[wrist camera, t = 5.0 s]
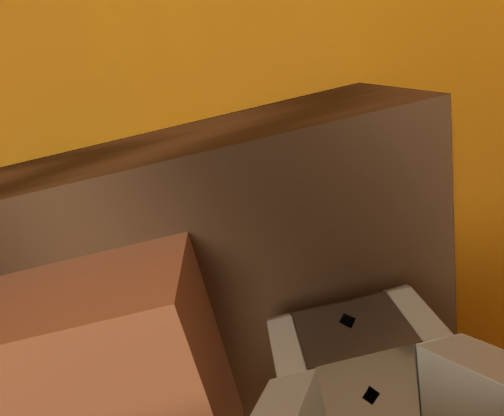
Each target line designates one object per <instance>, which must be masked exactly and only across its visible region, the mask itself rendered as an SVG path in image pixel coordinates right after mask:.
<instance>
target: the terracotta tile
mask: <svg viewBox="0 0 504 416" xmlns="http://www.w3.org/2000/svg"><path fill="white" fill-rule="evenodd" d="M0 416H244V415H243V407H242V403H241V400H240V397H239V394H238V391H237V387H236V384H235V381H234V378H233V375H232V371H231V368H230V365H229V362H228V359H227V355H226V352H225V349H224V346H223V343H222V339H221V336H220V333H219V330H218V326H217V323H216V320H215V317H214V314H213V310H212V307H211V304H210V301H209V298H208V294H207V291H206V288H205V285H204V282H203V278H202V275H201V272H200V269H199V265H198V262H197V259H196V256H195V253H194V249H193V246H192V243H191V240H190V237H189V233H188V232H184V233H179V234H175V235H171V236H167V237H162V238H158V239H154V240H150V241H145V242H141V243H137V244H133V245H128V246H124V247H120V248H116V249H111V250H107V251H103V252H99V253H94V254H90V255H86V256H82V257H77V258H73V259H69V260H65V261H61V262H56V263H52V264H48V265H44V266H39V267H35V268H31V269H27V270H22V271H18V272H14V273H10V274H5V275H1V276H0Z"/></svg>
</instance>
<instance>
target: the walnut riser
mask: <svg viewBox="0 0 504 416" xmlns="http://www.w3.org/2000/svg"><path fill="white" fill-rule="evenodd" d="M184 232H188V233H189V237H190V240H191V243H192V246H193V249H194V253H195V256H196V259H197V262H198V265H199V269H200V272H201V275H202V278H203V282H204V285H205V288H206V291H207V294H208V298H209V301H210V304H211V307H212V310H213V314H214V317H215V320H216V323H217V326H218V330H219V333H220V336H221V339H222V343H223V346H224V349H225V352H226V355H227V359H228V362H229V365H230V368H231V371H232V375H233V378H234V381H235V384H236V387H237V391H238V394H239V397H240V400H241V403H242V407H243V415H244V416H250V414H251V413H252V411H253V409H254V407H255V405H256V403H257V402H258V400H259V398H260V396H261V394H262V392H263V390H264V389H265V387H266V385H267V383H268V381H269V380H270V379H273V378H277V376H276V370H275V365H274V360H273V354H272V349H271V343H270V338H269V333H268V327H267V318H271V317H275V316H279V315H283V314H288V313H290V314H291V312H296V311H301V310H305V309H310V308H314V307H319V306H323V305H328V304H333V303H339V302H343V301H347V300H351V299H355V298H359V297H363V296H367V295H371V294H375V293H379V292H383V291H384V290H387V289H391V288H395V287H398V286H402V285H406V284H407V285H409V286H411V287H412V288H413V289H414V290H415V291H416V293H417V294H418V295H419V296H420V297H421V298H422V299H423V300H424V302H425V303H426V304H427V305H428V306H429V307H430V308H431V309H432V310H433V312H434V313H435V314H436V315H437V316H438V317H439V318H440V319H441V321H442V322H443V323H444V324H445V325H446V326H447V327H448V328H449V330H450V331H451V332H452V333H453V334H454V335H455V334H457V323H456V283H455V244H454V204H453V165H452V125H451V94H450V93H441V92H433V91H424V90H416V89H408V88H399V87H391V86H382V85H374V84H365V83H356V84H352V85H347V86H343V87H339V88H335V89H330V90H326V91H322V92H318V93H314V94H309V95H305V96H301V97H297V98H292V99H288V100H284V101H280V102H275V103H271V104H267V105H263V106H259V107H254V108H250V109H246V110H242V111H237V112H233V113H229V114H225V115H220V116H216V117H212V118H208V119H204V120H199V121H195V122H191V123H187V124H182V125H178V126H174V127H170V128H165V129H161V130H157V131H153V132H149V133H144V134H140V135H136V136H132V137H127V138H123V139H119V140H115V141H110V142H106V143H102V144H98V145H94V146H89V147H85V148H81V149H77V150H72V151H68V152H64V153H60V154H55V155H51V156H47V157H43V158H39V159H34V160H30V161H26V162H22V163H17V164H13V165H9V166H5V167H0V276H1V275H5V274H10V273H14V272H18V271H22V270H27V269H31V268H35V267H39V266H44V265H48V264H52V263H56V262H61V261H65V260H69V259H73V258H77V257H82V256H86V255H90V254H94V253H99V252H103V251H107V250H111V249H116V248H120V247H124V246H128V245H133V244H137V243H141V242H145V241H150V240H154V239H158V238H162V237H167V236H171V235H175V234H179V233H184Z"/></svg>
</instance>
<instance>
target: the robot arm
mask: <svg viewBox="0 0 504 416" xmlns="http://www.w3.org/2000/svg"><path fill="white" fill-rule="evenodd" d="M267 327H268V333H269V338H270V343H271V349H272V354H273V360H274V365H275V370H276V376H277V378H273V379H270V380H269V381H268V383H267V385H266V387H265V389H264V390H263V392H262V394H261V396H260V398H259V400H258V402H257V403H256V405H255V407H254V409H253V411H252V413H251V414H250V416H504V349H502V348H499V347H497V346H494V345H492V344H489V343H487V342H484V341H481V340H479V339H476V338H474V337H471V336H469V335H466V334H463V333H460V334H455V335H454V334H453V333H452V332H451V331H450V330H449V328H448V327H447V326H446V325H445V324H444V323H443V322H442V321H441V319H440V318H439V317H438V316H437V315H436V314H435V313H434V312H433V310H432V309H431V308H430V307H429V306H428V305H427V304H426V303H425V302H424V300H423V299H422V298H421V297H420V296H419V295H418V294H417V293H416V291H415V290H414V289H413V288H412V287H411V286H409V285H407V284H406V285H402V286H398V287H395V288H391V289H387V290H384V291H383V292H379V293H375V294H371V295H367V296H363V297H359V298H355V299H351V300H347V301H343V302H339V303H333V304H328V305H323V306H319V307H314V308H310V309H305V310H301V311H296V312H291V314H290V313H288V314H283V315H279V316H275V317H271V318H267Z"/></svg>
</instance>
